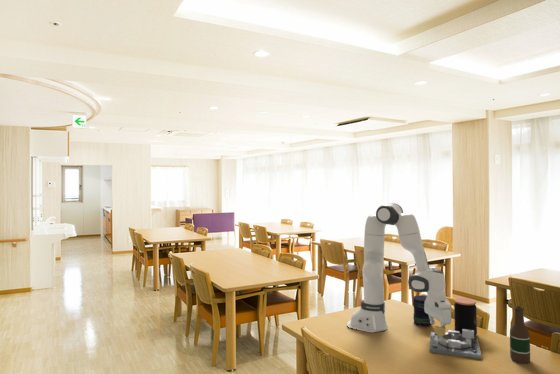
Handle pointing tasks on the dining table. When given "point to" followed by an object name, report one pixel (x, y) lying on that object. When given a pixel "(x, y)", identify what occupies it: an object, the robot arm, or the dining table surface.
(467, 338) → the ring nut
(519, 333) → the beer bottle
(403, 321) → the dining table surface
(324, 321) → the dining table surface
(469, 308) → the coffee jar
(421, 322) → the storage jar
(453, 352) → the flange plate
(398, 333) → the dining table surface
